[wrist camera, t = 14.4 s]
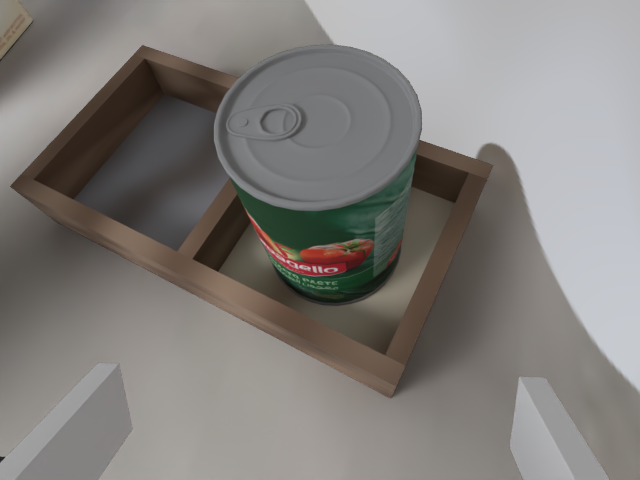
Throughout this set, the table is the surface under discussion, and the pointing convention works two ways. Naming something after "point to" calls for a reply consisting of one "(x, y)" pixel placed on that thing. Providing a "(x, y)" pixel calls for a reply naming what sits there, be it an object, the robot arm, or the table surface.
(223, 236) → the slot caddy
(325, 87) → the canned tomato
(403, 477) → the table surface
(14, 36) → the coffeecake box
